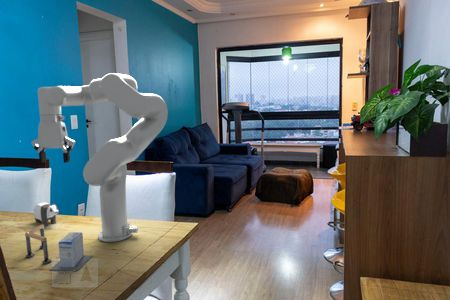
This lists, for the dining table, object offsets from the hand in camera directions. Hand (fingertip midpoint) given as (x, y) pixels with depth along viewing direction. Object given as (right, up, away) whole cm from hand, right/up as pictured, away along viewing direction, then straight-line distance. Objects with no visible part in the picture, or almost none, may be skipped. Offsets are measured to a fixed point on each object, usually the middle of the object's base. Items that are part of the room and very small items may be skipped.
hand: (55, 162), depth 133 cm
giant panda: (-9, -27, +12) cm, 31 cm away
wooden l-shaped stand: (+6, -31, -18) cm, 37 cm away
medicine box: (+18, -32, -24) cm, 44 cm away
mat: (+18, -32, -24) cm, 44 cm away
